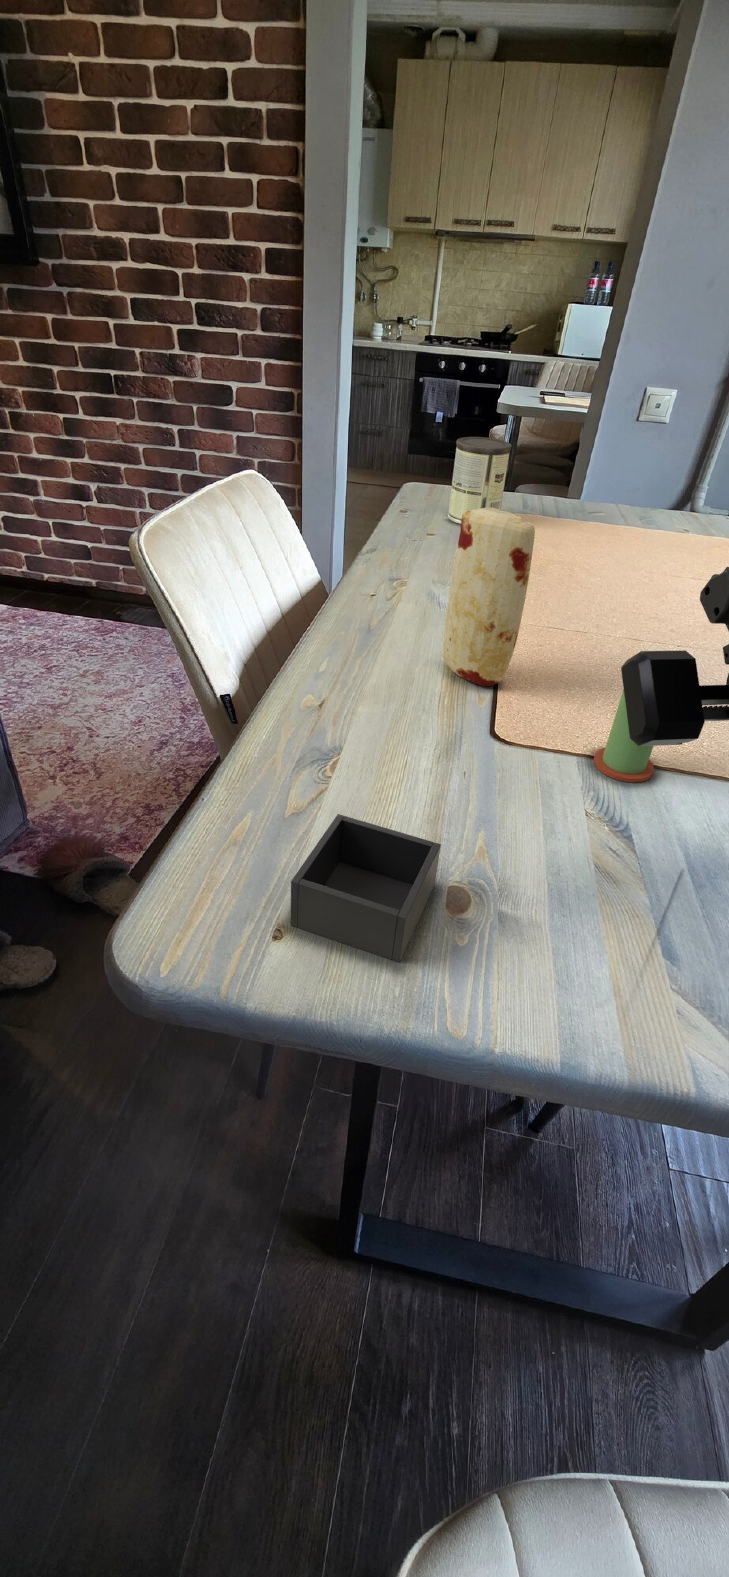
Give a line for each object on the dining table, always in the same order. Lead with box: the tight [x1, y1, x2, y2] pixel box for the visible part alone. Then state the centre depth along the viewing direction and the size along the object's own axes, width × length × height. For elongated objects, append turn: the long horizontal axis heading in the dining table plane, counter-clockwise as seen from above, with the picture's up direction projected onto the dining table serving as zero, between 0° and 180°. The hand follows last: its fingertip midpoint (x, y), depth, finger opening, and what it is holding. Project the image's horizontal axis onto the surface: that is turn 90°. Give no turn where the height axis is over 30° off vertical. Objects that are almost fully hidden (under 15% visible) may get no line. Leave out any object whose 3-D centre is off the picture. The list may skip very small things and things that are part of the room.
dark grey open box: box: [290, 813, 442, 964], centre depth 56 cm, size 9×9×5 cm
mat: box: [593, 746, 655, 784], centre depth 76 cm, size 6×6×1 cm
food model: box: [442, 507, 536, 687], centre depth 85 cm, size 10×7×20 cm
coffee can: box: [447, 436, 513, 525], centre depth 142 cm, size 10×10×14 cm
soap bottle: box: [603, 647, 669, 774], centre depth 73 cm, size 4×4×12 cm
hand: (684, 724), depth 60 cm, fingers open, 9 cm apart
